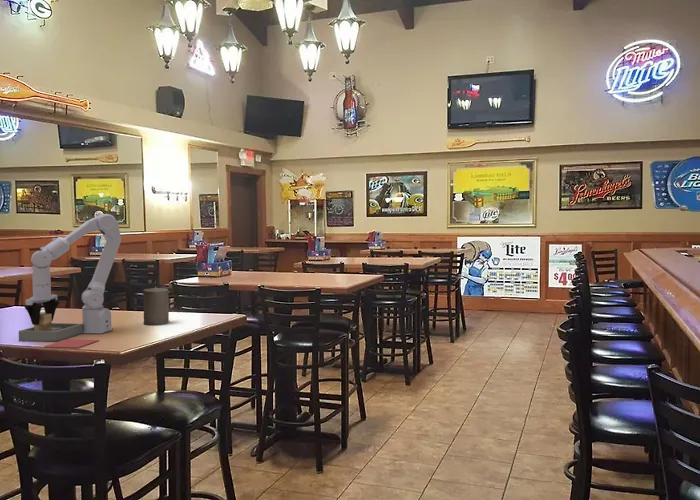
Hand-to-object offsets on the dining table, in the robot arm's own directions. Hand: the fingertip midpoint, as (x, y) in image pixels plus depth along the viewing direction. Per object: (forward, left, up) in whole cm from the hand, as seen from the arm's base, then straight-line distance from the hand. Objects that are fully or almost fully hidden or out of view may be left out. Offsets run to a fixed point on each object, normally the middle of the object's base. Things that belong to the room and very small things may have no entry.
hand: (42, 322), depth 213 cm
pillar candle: (-28, -31, -5) cm, 42 cm away
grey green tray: (-4, 0, -5) cm, 6 cm away
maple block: (0, 0, -3) cm, 3 cm away
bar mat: (-19, +11, -5) cm, 22 cm away
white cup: (+10, -14, -5) cm, 18 cm away
